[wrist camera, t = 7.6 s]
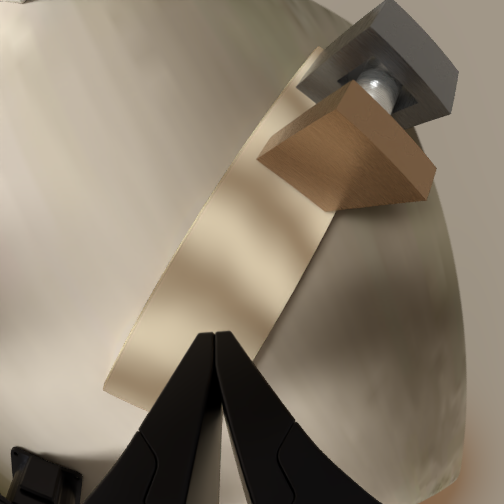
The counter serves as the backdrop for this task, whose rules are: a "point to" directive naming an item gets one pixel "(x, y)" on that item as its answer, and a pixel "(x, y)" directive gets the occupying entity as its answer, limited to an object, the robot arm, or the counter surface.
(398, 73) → the bearing block
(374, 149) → the wooden block with shaft
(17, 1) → the syrup box
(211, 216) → the birch base plate
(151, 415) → the robot arm
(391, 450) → the counter surface
